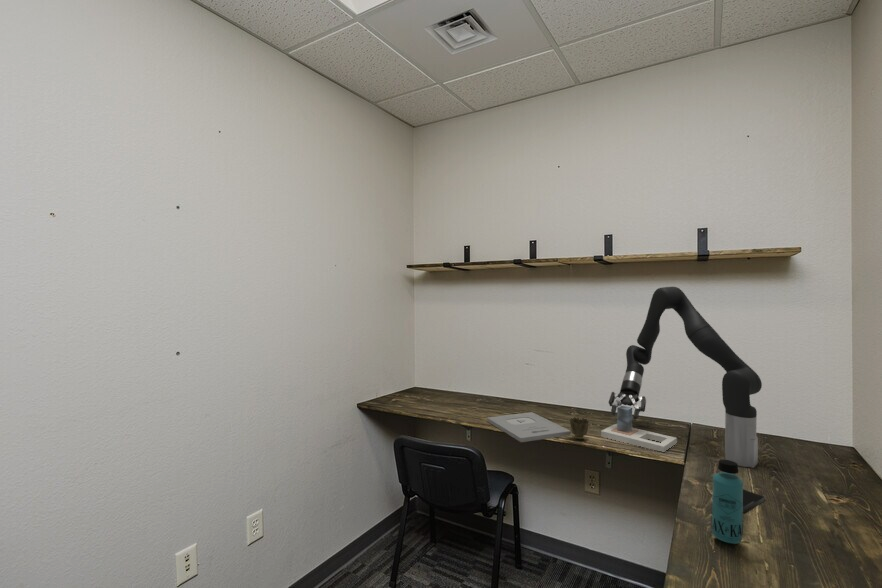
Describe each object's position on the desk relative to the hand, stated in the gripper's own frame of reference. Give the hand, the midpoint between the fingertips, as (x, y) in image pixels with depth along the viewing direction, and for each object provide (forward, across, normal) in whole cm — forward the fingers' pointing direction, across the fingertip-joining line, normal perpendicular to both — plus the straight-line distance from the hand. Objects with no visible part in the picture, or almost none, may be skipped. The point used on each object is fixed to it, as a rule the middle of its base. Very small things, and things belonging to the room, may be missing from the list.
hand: (623, 416), depth 180 cm
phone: (+31, +42, -18) cm, 56 cm away
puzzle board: (+6, +5, +7) cm, 10 cm away
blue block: (+3, 0, +5) cm, 6 cm away
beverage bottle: (+50, +42, -37) cm, 75 cm away
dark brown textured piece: (+16, -14, -3) cm, 21 cm away
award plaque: (+16, -38, -3) cm, 41 cm away
